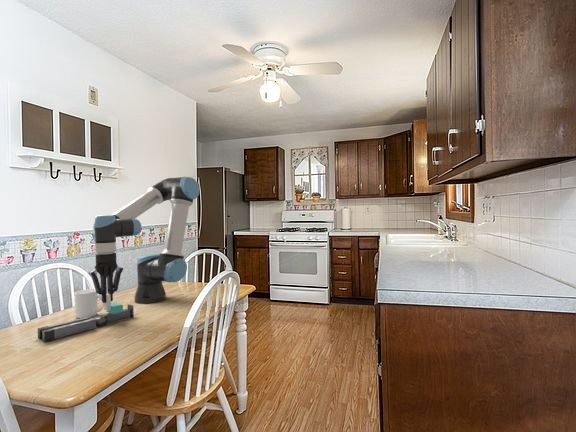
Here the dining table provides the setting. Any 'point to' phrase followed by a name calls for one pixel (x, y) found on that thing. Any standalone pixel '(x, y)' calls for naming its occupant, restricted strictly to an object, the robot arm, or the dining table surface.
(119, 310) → the tab
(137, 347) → the dining table surface
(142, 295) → the robot arm
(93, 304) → the mug
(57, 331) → the tongs jaw
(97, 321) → the tongs body
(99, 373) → the dining table surface
